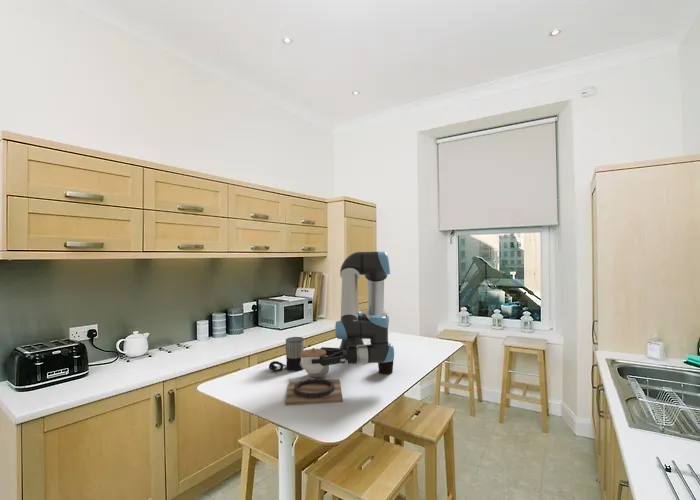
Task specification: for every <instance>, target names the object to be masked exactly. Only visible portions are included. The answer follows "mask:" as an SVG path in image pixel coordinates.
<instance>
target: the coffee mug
mask: <svg viewBox="0 0 700 500" xmlns="http://www.w3.org/2000/svg"><path fill="white" fill-rule="evenodd" d="M394 359H395V358H394ZM394 359H393V361H391V362H384V363H377V368H378V373H379V374H381V375H391V374H393V372H394V371H393V369H394Z"/></svg>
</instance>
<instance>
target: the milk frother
mask: <svg viewBox="0 0 700 500" xmlns="http://www.w3.org/2000/svg"><path fill="white" fill-rule="evenodd" d="M304 340H305V338H304V337H302V336H301V337H300V336H292V337H288V338H285V359H286V364H284V363H283V362H280V361H278V360H273V361H271V362H270V363H269V365H268V369H269V371H271V372H275V373H276V372H281V371H282V370H283V369H284V367H286V368H285V370H287V371H289V372H298V371H302V370H304V369H303V368H302V367H301V366H300V361H301V355H300V353H301V352H302V351H304V350H305V347H304ZM277 365H279V366H280V367H279V368H278V366H277Z"/></svg>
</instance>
